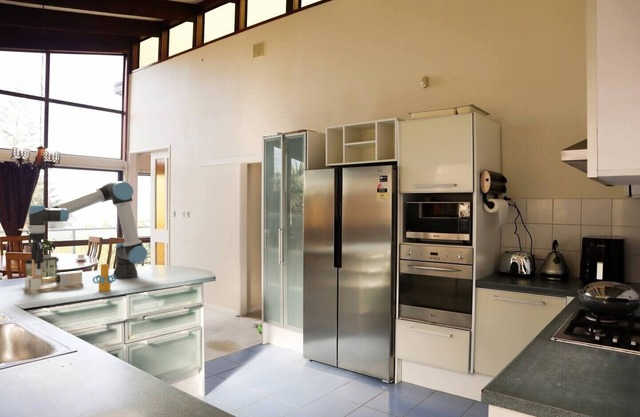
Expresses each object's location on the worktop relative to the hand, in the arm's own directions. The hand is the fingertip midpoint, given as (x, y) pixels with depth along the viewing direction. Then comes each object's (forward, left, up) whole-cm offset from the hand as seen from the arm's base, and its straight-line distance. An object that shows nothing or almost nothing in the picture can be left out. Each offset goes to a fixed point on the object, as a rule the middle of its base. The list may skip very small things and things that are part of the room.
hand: (37, 274), depth 247 cm
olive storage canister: (+16, -21, -10) cm, 28 cm away
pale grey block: (-10, -13, -8) cm, 19 cm away
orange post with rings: (-36, -5, -10) cm, 38 cm away
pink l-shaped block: (-3, -4, -6) cm, 8 cm away
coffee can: (+19, -38, -10) cm, 44 cm away
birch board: (-5, -6, -10) cm, 12 cm away
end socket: (+1, +2, -8) cm, 8 cm away
